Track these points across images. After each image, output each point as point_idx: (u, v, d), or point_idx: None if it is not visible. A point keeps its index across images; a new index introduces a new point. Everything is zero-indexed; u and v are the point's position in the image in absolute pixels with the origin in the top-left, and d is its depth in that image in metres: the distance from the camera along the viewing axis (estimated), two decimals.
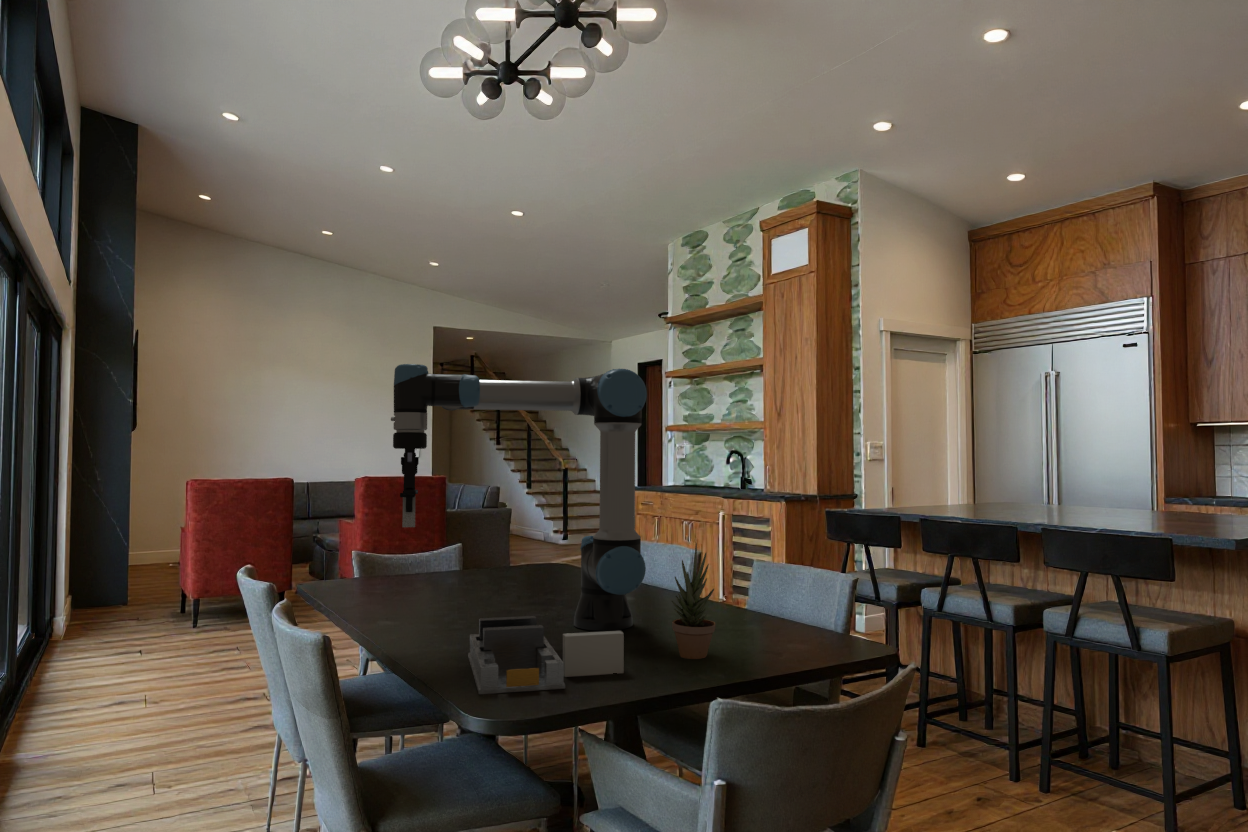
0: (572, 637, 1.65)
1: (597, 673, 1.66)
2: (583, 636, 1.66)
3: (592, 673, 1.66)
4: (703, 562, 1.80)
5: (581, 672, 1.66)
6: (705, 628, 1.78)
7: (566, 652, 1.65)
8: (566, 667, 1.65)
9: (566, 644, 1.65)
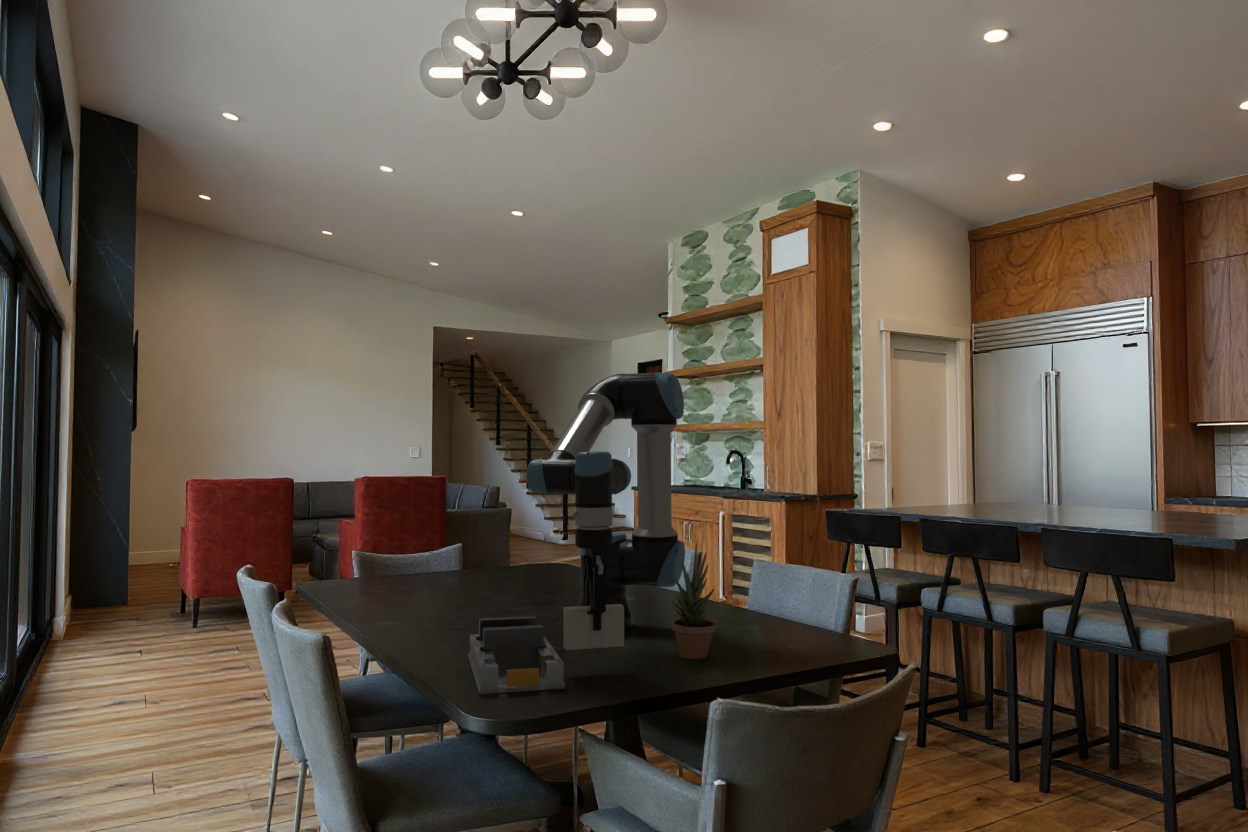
0: (573, 610, 1.66)
1: (598, 646, 1.67)
2: (584, 609, 1.67)
3: None
4: (703, 562, 1.80)
5: (582, 645, 1.66)
6: (705, 628, 1.78)
7: (567, 625, 1.66)
8: (567, 640, 1.66)
9: (566, 618, 1.66)
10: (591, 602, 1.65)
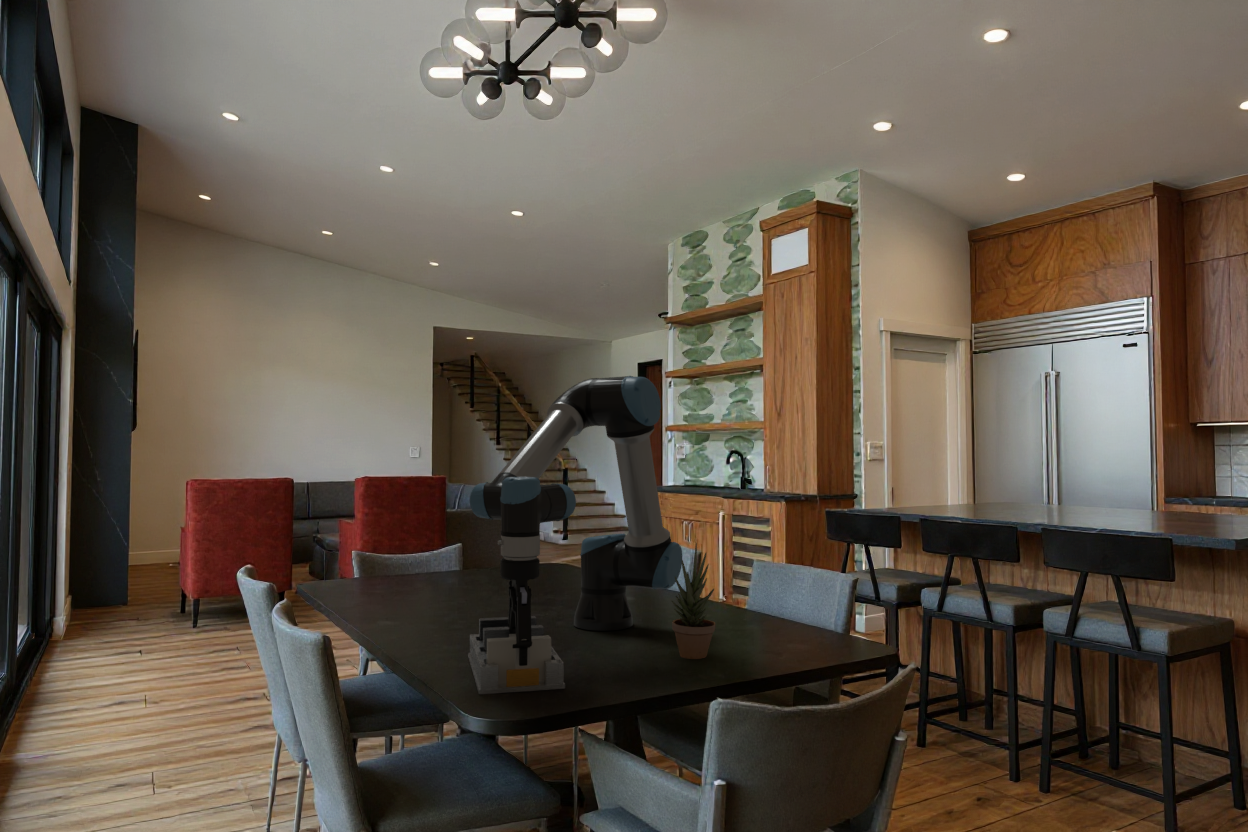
0: (495, 642, 1.57)
1: None
2: (507, 641, 1.57)
3: None
4: (703, 562, 1.80)
5: (505, 679, 1.57)
6: (705, 628, 1.78)
7: (489, 658, 1.56)
8: None
9: (488, 650, 1.56)
10: (516, 634, 1.54)
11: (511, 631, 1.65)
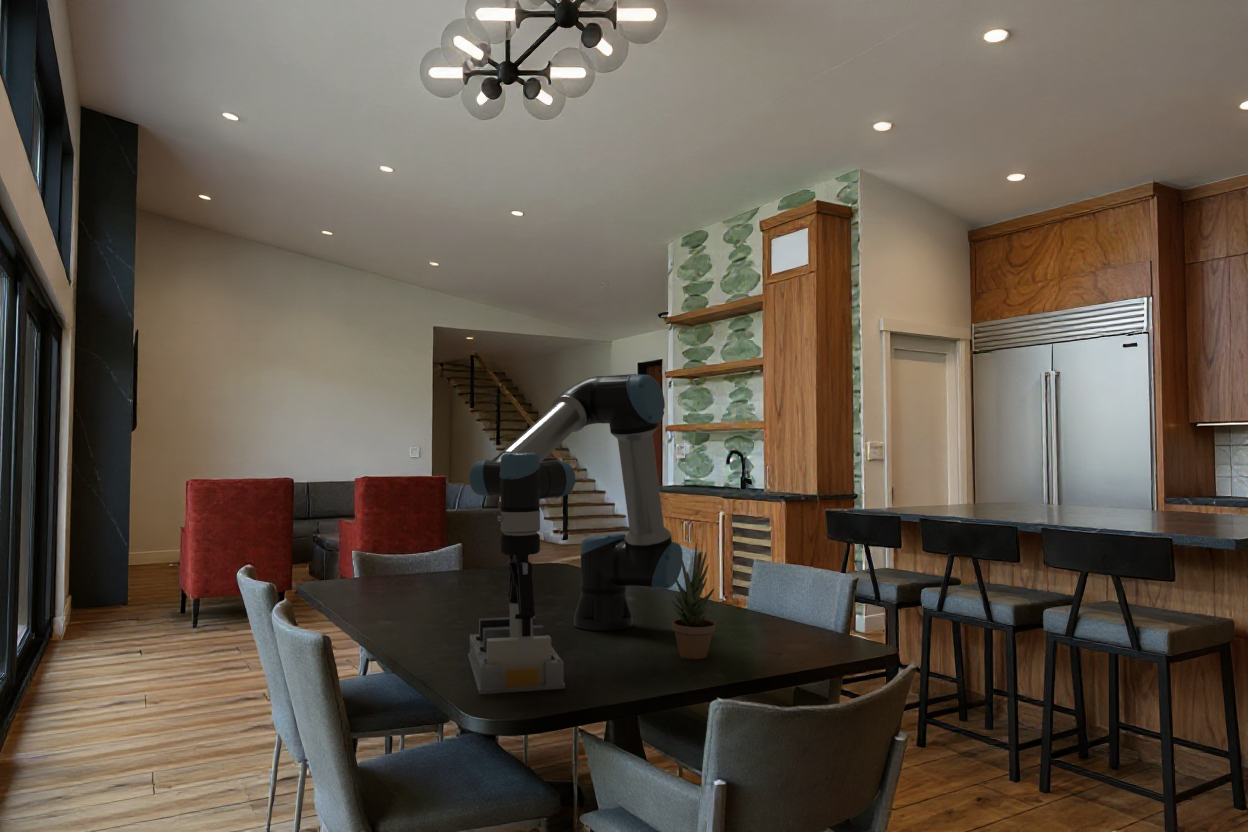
0: (495, 642, 1.57)
1: None
2: (507, 641, 1.57)
3: None
4: (703, 562, 1.80)
5: (505, 679, 1.57)
6: (705, 628, 1.78)
7: (489, 658, 1.56)
8: None
9: (488, 650, 1.56)
10: (519, 605, 1.53)
11: (511, 601, 1.67)
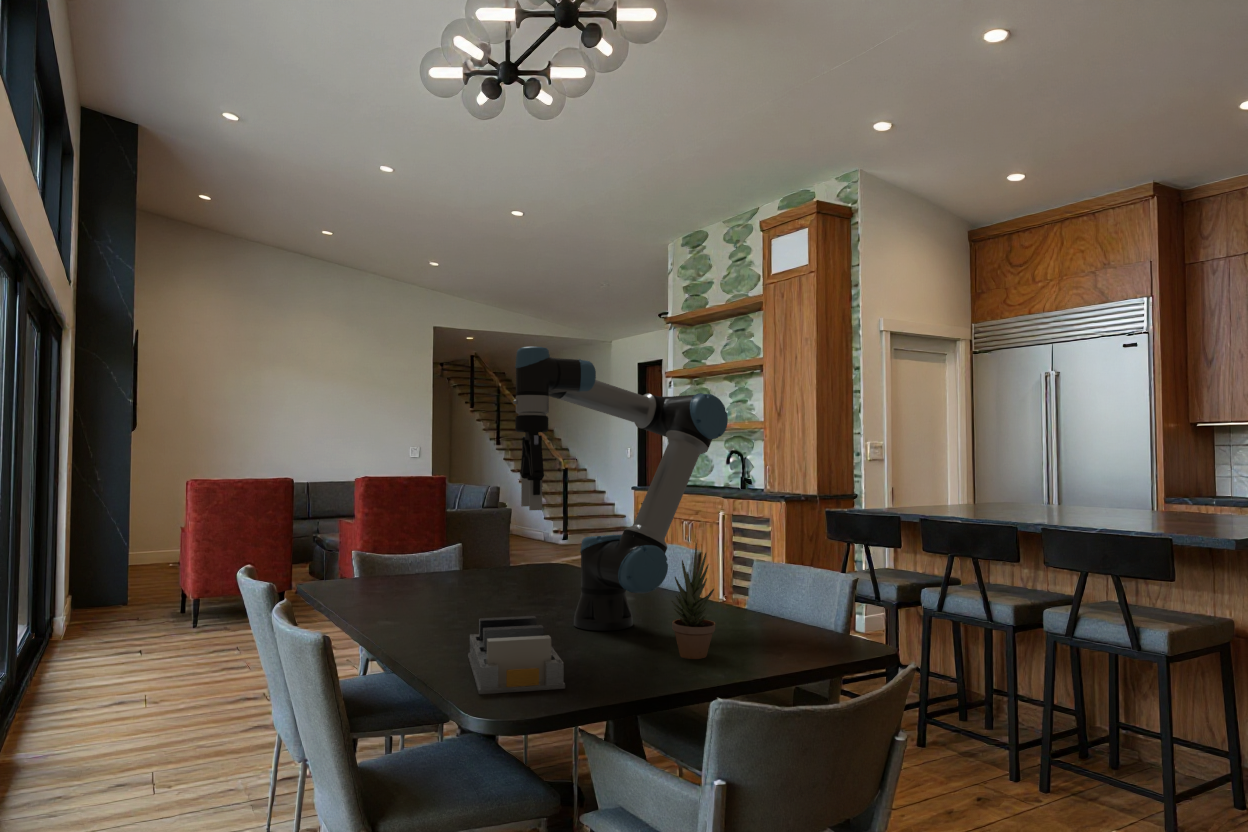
0: (495, 642, 1.57)
1: None
2: (507, 641, 1.57)
3: None
4: (703, 562, 1.80)
5: (505, 679, 1.57)
6: (705, 628, 1.78)
7: (489, 658, 1.56)
8: None
9: (488, 650, 1.56)
10: (530, 469, 1.82)
11: (523, 476, 1.96)
